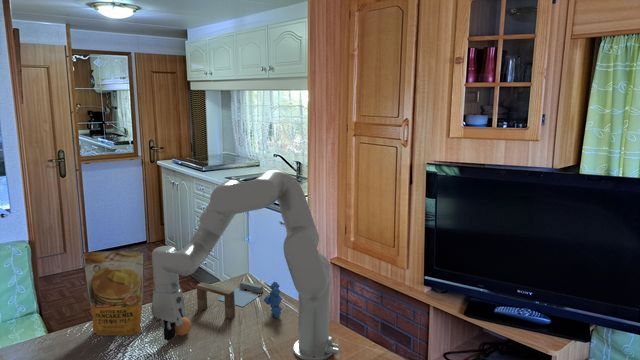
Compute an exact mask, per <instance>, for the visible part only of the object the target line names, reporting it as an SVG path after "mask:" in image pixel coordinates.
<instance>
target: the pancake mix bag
mask: <svg viewBox="0 0 640 360" xmlns="http://www.w3.org/2000/svg"><path fill="white" fill-rule="evenodd" d="M81 256H82V261H83V262H82V263H83V270H84V274H85V282H86V287H87V293H88V297H89V305H90V310H91V315H92V331H91V332H92V334H96V335H97V336H98V337H118V336H119V337H120V336H121V337H127V336H128V337H129V336H130V337H131V336H135V335H137V334H140V333H143V330H142V327H141V323H142V312H143V310H142V309H143V297H144V285H145V262H146V261H145V260H146V259H145V253H143V252H141V251H139V250H124V251H117V250H110V251H108V250H106V251H105V250H104V251H89V252H86V253H83V254H82V255H81Z"/></svg>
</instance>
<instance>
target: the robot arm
mask: <svg viewBox="0 0 640 360" xmlns="http://www.w3.org/2000/svg"><path fill="white" fill-rule="evenodd" d="M276 202H277V203H278V206H279V210H280V214H281V218H282V220H283V221H282V222H283V224H284V226H285V227H284V228H285V231H286V236H285V238H284V242H283V244H282V245H283V248H282V249H283V255H284V259H285V262H286V265H287V268H288V270H289V271H288V272H289V274H290V277H291V280H292V283H293V286H294V288H295V290H296V292H297V293H298V310H297V311H298V331H297V332H298V340H296V341H295V343H294V344H293V353H294V355H295V356H296V357H297V358H298V359H301V360H327V359H328V358H330V357H331V356H332V355H335V356H338V355H339V354H340V344H338V343H334V342H333V339H332V338H333V337H332V336H330V292H331V291H330V288H331V266H330V265H331V264H330V262H329V260H328V259H327V257H326V256H325V255H324V254H322V253H320V252H319V249H318V246H319V241H320V237H319V232H318V229H317V227H316V225H315V221H314V218H313V216H312V212H311V209H310V207H309V204H308V203H309V202H308V201H307V197H306V195H305V192H304V189H303V187H302V186H301V184H300V183H299V182H298V180H297V179H296V178H295V177H293V175H291V174H289V173H287V172H285V171H282V170H278V169H272V170H266V171H264V172H262V173H261V174H260V175H258V176H257V177H256V178H255V179H252V180H251V179H250V180H247V181H243V182H242V181H239V180H236V179H228V180H226V181H224V182H222V183H220V184H219V185H218V186H217V187H215V188H214V189H213V191H212V192H211V194H210V198H209V203H208V204H207V206H206V207H205V209H204V210H203V211H202V213H201V215H200V217H199V226H198V228H197V229H196V231H195V233H194V235H193V236H192V237H191V239H190V241H189V242H188V243H187V244H186V245H185V246H184V247H183V248H182V249H180V250H177V248H176V247H174V246H173V245H162V246H158V247H156V248H154V249H153V250H152V252H151V263H152V264H151V265H152V278H153V289H152V298H151V299H152V300H151V301H152V304H151V307H152V308H153V314H152V316H153V315H154V316H155V317H154V316H153V317H154V318H155V320H158V321H159V322H160V324H161V327H162V329H163V339H164V340H165V341H168V342H170V341H171V340H172V339H174V338H175V337H176V334H175V326H180V325H181V324H183V322H182V318H183V317H186V306H185V298H184V294H183V291H182V288H181V285H180V280H179V279H180V278H179V276H190V275H192V274H194V273H195V272H196V271H197V270H198V269H199V267H200V266H201V264H203V263H204V262H205V261H206V260H207V258H208V256H209V255H210V254H211V252H212V250H213V249H214V247H215V246H216V244H217V243H218V242H219V240H220V239H221V237H222V236H223V234H224V233H225V231H227V228H228V226H229V225H230V223H231V222H232V220H233V219H234V217H236V215H237V214H242V213H247V212H252V211H253V212H254V211H257V210H261V209H266V208H268V207H270V206H273V205H274V204H276ZM181 317H182V318H181Z"/></svg>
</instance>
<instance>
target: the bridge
mask: <svg viewBox="0 0 640 360" xmlns="http://www.w3.org/2000/svg"><path fill="white" fill-rule="evenodd" d="M233 290H234V289H230V288H226V287H221V286H219V285H218V286H217V285H215V284H211V283H207V282H203V281H202V282H200V283H198V284H196V300H197V301H196V304H197V310H199V311H203V310H206V309H207V308H208V292H210V293H212V294H217V295H220V296H222V297H223V296H224V297H225V302H224V318H225V319H227V320H231V319H232V318H234V317H235V316H236V311H235V310H236V305H235V300H234V291H233Z"/></svg>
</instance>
